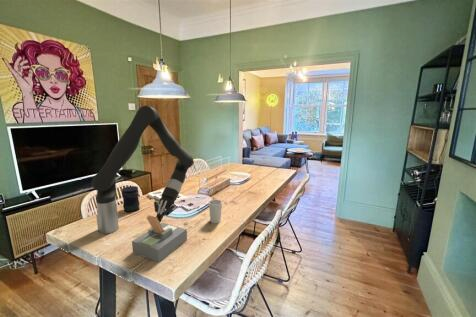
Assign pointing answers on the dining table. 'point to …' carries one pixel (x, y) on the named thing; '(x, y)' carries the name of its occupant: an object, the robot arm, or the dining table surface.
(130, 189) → the storage jar
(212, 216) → the cup
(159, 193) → the holder
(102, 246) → the dining table surface
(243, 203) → the dining table surface
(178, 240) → the box
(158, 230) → the handle
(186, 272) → the dining table surface
